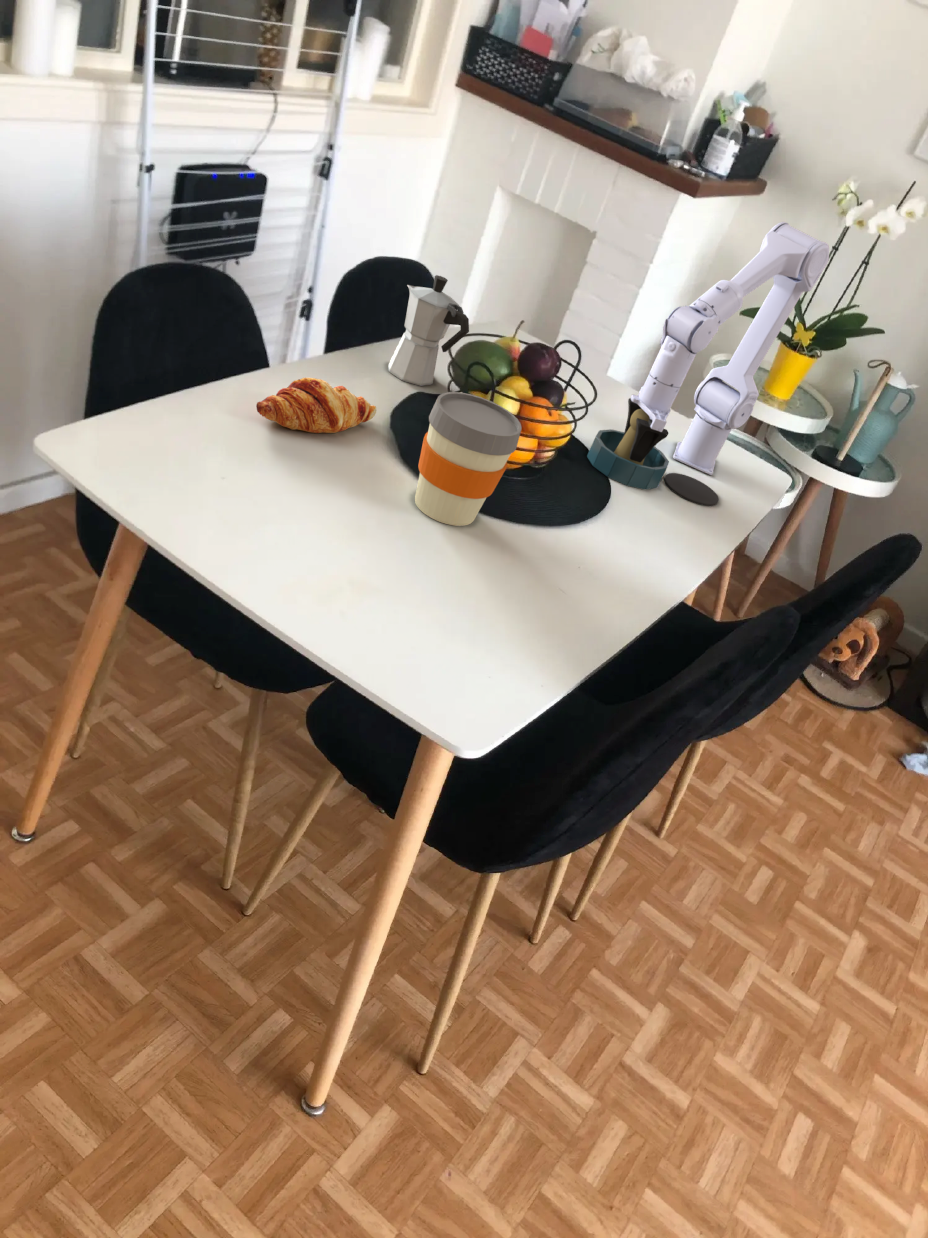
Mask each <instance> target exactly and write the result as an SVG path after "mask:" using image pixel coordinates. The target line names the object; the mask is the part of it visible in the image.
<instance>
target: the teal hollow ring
mask: <svg viewBox="0 0 928 1238" xmlns="http://www.w3.org/2000/svg"><path fill="white" fill-rule="evenodd" d="M624 432H625V431H620V430H616V429H611V428H609V429H600V430H598V432H597V433H596V435H595V437H594V439H593V441H592V443H591V445H590V448H589V450H588V453H587V455H586V457H587V459H588V461H589V462H590V464H591V465H592V467H594V468H595V469H596V470H598V471H599V472H601V474H603V475H604V476H606V477H607V478H609V479H611V480H613V481H616V482H618V483H620V484H622V485H624V486H627V487H631V488H636V489H641V490H651V489H657V488H659V485H660V483H661V481H662V479H663V478H664V475H665V473H666V471H667V469H668V466H669V463H670V461H669V459H668V458H667V457H666V455H665V454H664V452H663V451H661V450H660V449H659V448H657V447H656V446H654V447H653V448H652V450H651V451H650V452H649V453H648V454H647V456H646V457H645V459H644V462H643V465H639V464H635V463H633V462H631V461H629V460H626V459H624V458H622V457H620V456H618V455H616V454H615V453H614V451H615V450H616V448H617V446H618V445H619V443H620V442H621V440H622V439H623V437H624Z"/></svg>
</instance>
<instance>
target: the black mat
mask: <svg viewBox="0 0 928 1238" xmlns="http://www.w3.org/2000/svg"><path fill="white" fill-rule="evenodd" d="M663 481H664V484H665V485H666V486H667V488H668V489H669V490H671V491H672V492H673V493H674V494H676V495H677V496H679V497H681V499H684V500H686V501H688V502H691V503H694V504H697V505H699V506H704V507H714V506H716V505H717V504H719V501H720V499H719V496H718V494H717V493H716V492H715V490H713V489H712V488H711V487H710V486H709V485H707V484H705V483H704V482H702V481H700V480H699V479H696V478H694V477H692V476H689V475H686V474H682V473H677V472H669V473H667V474H665V476H664V477H663Z"/></svg>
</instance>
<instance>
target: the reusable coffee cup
mask: <svg viewBox="0 0 928 1238" xmlns="http://www.w3.org/2000/svg"><path fill="white" fill-rule="evenodd" d="M428 422H429V425H428V430H427V431H426V433H425V434H424V436H423V441H422V446H421V450H420V456H419V460H418V467H417V468H418V471H419V474H418V480H417V486H416V491H415V496H414V503H415V505H416V507H417V508H418V509H419V511H421V513H423V514H424V515H425V516H427V517H429V518H431V519H432V520H434V521H437V522H439V523H442V524H446V525H449V526H456V527H462V526H463V527H464V526H468V525H471V524H472V523H473V522H474V521H475V519H476V517H477V515H478V514H479V512H480V510H481V508H482V507H483V505H484V503H485V501H486V499H487V498H489V497H490V496H491V495H492V494H493V493H494V492H495V489H496V488H497V486H498V484H499V482H500V480H501V478H502V477H503V475H504V473H505V472H506V470H507V468H508V461H509V458H510V457H511V455H512V454H513V453H514V452H516V450H517V447H518V443H519V440H520V436H521V432H522V429H523V428H522V424H521V423H522V422H521V421H520V420H519V419H518V418H517V417H516V416H515V415H514V414H513V413H512V412H510V411H509V410H508V409H506V408H505V407H503V406H502V405H499V404H497V403H496V402H494V401H492V400H489V399H486V398H484V397H481V396H478V395H474V394H470V393H467V392H459V391H449V392H443V393H441V394H439V395H438V396H437V398H436V400H435V402H434V404H433V407H432V409H431V411H430V413H429V415H428Z"/></svg>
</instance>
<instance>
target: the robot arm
mask: <svg viewBox="0 0 928 1238" xmlns="http://www.w3.org/2000/svg"><path fill="white" fill-rule="evenodd" d="M829 260H830V245H829V244H828V243H827V241H823V240H822V241H821V239H820V240H819V239H818V238H816V237H814V236H812V235H810V234H808V233H806V232H804V231H802V230H800V229H798V228H796V227H794V226H792V225H790V224H789V223H788V222H786V221H780V222H778V223H776V224H775V225H774V226H772V228H770V229H769V231H768V232H767V233H766V234H765V236H764V237H763V239H762V242H761V245H760V248H759V252H757V253H756V254H755V256H754V257H752V258H751V259H750V260H749V261H748V262H747V263H746V264H745V265H744V266H743V267H742V268H741V269H740V270H739V271H738V272H737V273H736V274H735V275H733V277H732V278H731V279H730V280H727V279H721V280H719V281H717V282H716V283H715V284H714V285H712V286H711V287H710V288H709V289H707V290H706V291H705V292H704V293H703V294H701V295H700V296H699V297H698V298H697V299H695V300H694V301H693V302H692V303H690V304H689V305H682V306H681V305H679V306H677V307H675V308H674V309H673V310H672V311H671V312H670V314H669V315H668V316H667V318H665V320H664V323H663V326H662V335H661V339H660V341H659V346H660V349H659V351H658V353H657V355H656V357H655V360H654V362H653V364H652V366H651V368H650V370H649V373H648V375H647V377H646V380H645V381H644V384H643V385H642V386H641V388H640V389H639V392H638V394H631V396H630V397H629V398H628V399H627V402H628V404H627V405H628V407H627V408H628V409H627V419H626V424H625V428H624V431H623V432H624V435H625V434H626V432H627V431H628V429H629V427H630V426H631V425H630V418H631V416H632V414H633V413H634V412H635V411H636V410H637V409H643V410H644V411H645V412H646V413H647V414H648V415H649V417H650V419H649V421H645V420H642V419H639V418H637V419H636V434H635V439H634V442H633V445H632V448H631V452H630V457H629V458H630V459H631V460H634V461H637V462H642V460H643V459H644V458H645V457H646V456H647V454H648V453H649V452H650V451H651V450H652V448H653V447H656V445H657V444H659V443H660V442H661V441H663V440H664V439H666V438H667V437H668V436H669V431H668V429H666V428H665V427H666V424H667V419H668V417H669V415H670V413H671V408H672V406H673V404H674V402H675V400H676V398H677V396H678V395H679V394H678V393H679V392H680V390H681V387H682V385H683V383H684V381H685V379H686V377H687V374H688V372H689V370H690V369H691V366H692V365H693V363H694V359H695V358H696V356H697V355H698V353H700V352H702V351H703V350H705V349H706V348H707V347H708V346H709V344H711V342H712V340H713V338H714V336H716V334H718V332H719V329H720V328H719V327H720V326H722V325H723V324H724V323H725V322H726V321H728V320H729V319H730V318H731V317H732V316H734V315H735V314H736V313H737V312H738V311H739V310H741V308H742V307H743V304H744V298H745V297H746V296H747V295H749V294H751V293H752V292H753V291H755V290H756V289H759V287H761V286H763V285H764V284H765V283H767V282H768V281H770V280H771V279H773V285H772V287H771V289H770V291H769V292H768V294H767V296H766V298H765V299H764V301H763V303H762V304H761V306H760V308H759V309H758V311H757V313H756V315H755V316H754V318H753V320H752V322H751V323H750V325H749V327H748V328H747V330H746V332H745V333H744V335H743V337H742V339H741V340H740V343H739V344H738V346H737V348H736V350H735V351H734V353H733V354H732V356H731V358H730V360H729V361H728V364H726V365H723V366H718V367H714V368H712V369H711V370H710V371H709V372H708V374H707V375H706V377H705V378H704V379H703V380H702V381H701V382H700V383H699V385H698V386H697V388H696V390H695V392H694V395H693V403H694V405H695V407H694V409H693V410H694V411H695V414H694V417H693V419H692V420H691V423H690V424H689V427H688V429H687V431H686V433H685V434H684V437H683V439H682V441H678V442H677V443H676V447H675V450H674V452H673V455H672V459H674V460H676V461H678V462H680V463H682V464H685V465H687V466H689V467H691V468H694V469H696V470H698V471H700V472H701V473H705V474H706V475H710V476H712V475H713V474H714V470H715V465H716V461H717V458H718V457H719V454H720V452H721V450H722V449H723V447H724V445H725V443H726V442H727V439H728V437H729V435H730V434H731V432H732V430H736V429H738V428H740V427H742V426H743V425H744V424H745V423H746V422H747V421H748V420H749V419H750V417H751V415H752V414H753V411H754V407H755V404H756V402H757V400H758V398H759V395H760V393H759V390H758V387H757V384H756V382H755V379H754V376H755V374H756V372H757V371H758V369H759V367H760V366H761V364H762V362H763V361H764V359H765V357H766V356H767V354H768V352H769V351H770V349H771V347H772V345H773V344H774V343H775V340H776V339H777V337H778V335H779V334H780V332H781V331H782V328H783V327H784V325H785V323H786V322H787V320H788V319H789V317H790V315H791V314H792V312H793V310H794V308H795V306H796V305H797V303H798V301H799V300H800V298H801V297H802V295H803V293H805V292H806V293H808V292H811V291H812V289H813V288H814V286H815V285H816V283H817V281H818V280H819V278H820V277H821V274H822V273H823V272H824V270H825V268H826V266H827V265H828V263H829Z"/></svg>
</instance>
